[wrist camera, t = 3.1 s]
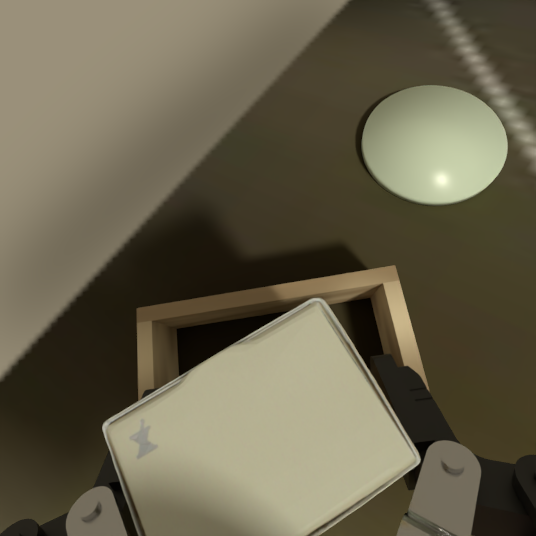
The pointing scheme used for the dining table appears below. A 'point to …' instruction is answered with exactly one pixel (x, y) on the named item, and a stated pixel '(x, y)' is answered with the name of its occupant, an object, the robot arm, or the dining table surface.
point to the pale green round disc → (433, 145)
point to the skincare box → (261, 437)
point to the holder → (267, 302)
